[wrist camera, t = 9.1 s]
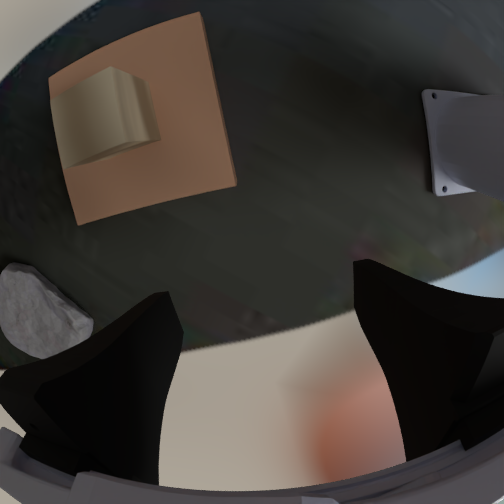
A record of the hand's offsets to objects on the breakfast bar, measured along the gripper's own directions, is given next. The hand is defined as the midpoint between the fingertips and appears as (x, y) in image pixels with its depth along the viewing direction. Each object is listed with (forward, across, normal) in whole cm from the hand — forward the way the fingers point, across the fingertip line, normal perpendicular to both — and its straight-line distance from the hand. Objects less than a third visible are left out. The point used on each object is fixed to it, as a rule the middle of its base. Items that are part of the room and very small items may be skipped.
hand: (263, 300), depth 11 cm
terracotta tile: (+10, +7, -9) cm, 15 cm away
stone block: (+10, +22, +4) cm, 25 cm away
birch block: (+8, +7, -9) cm, 14 cm away
